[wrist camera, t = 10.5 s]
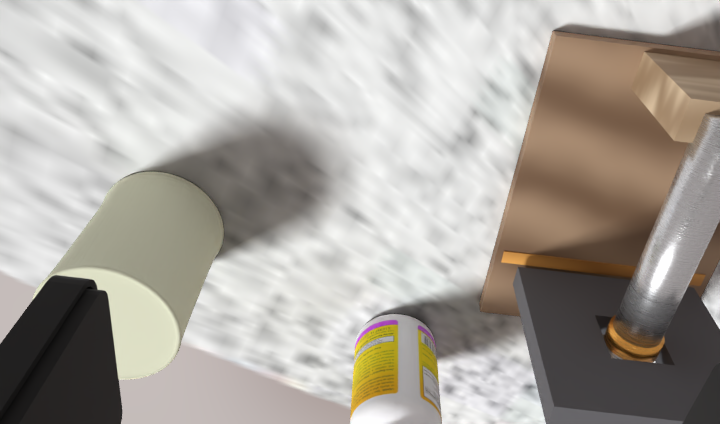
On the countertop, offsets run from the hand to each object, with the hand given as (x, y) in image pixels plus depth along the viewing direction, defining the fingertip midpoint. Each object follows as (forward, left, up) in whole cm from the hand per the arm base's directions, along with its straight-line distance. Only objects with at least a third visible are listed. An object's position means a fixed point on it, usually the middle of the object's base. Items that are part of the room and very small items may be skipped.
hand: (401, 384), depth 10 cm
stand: (+14, +18, -33) cm, 40 cm away
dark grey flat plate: (+20, +18, -31) cm, 41 cm away
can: (+21, -15, -34) cm, 42 cm away
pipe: (+14, +18, -26) cm, 35 cm away
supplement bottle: (+30, +4, -34) cm, 45 cm away
